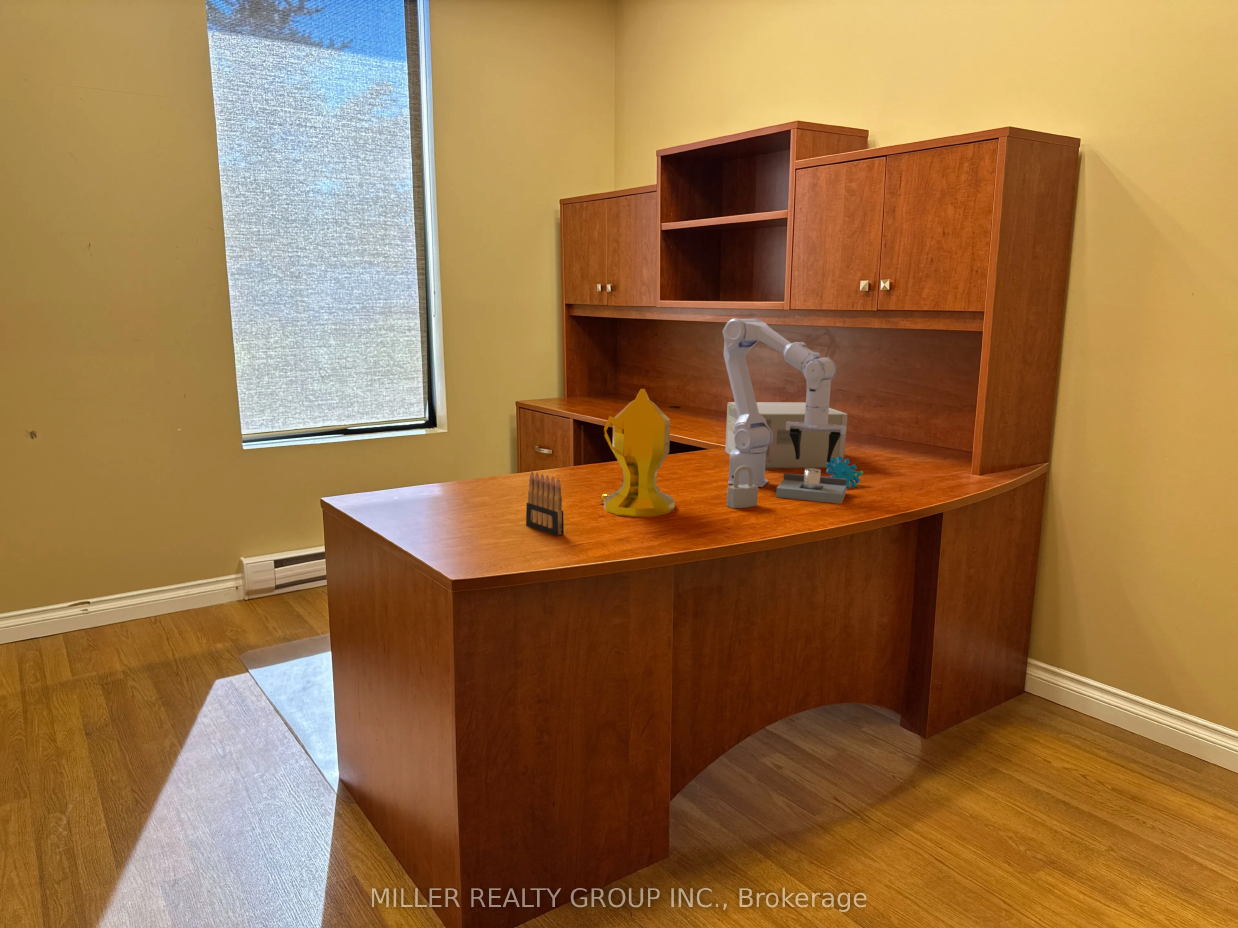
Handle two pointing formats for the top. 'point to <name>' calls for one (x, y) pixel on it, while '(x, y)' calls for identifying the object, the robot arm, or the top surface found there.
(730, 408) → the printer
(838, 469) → the gear
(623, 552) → the top surface
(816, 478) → the cylindrical peg
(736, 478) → the padlock
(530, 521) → the ammunition clip
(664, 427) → the trophy cup
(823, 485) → the plate
